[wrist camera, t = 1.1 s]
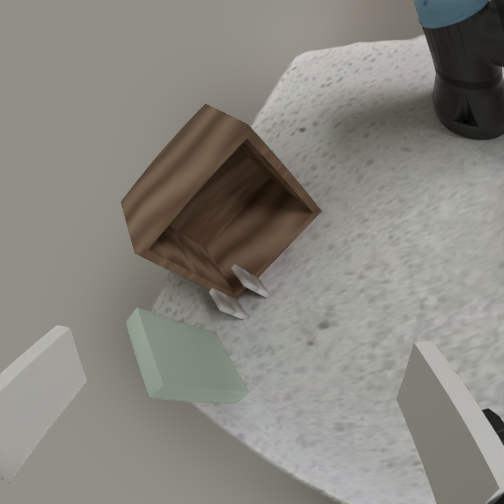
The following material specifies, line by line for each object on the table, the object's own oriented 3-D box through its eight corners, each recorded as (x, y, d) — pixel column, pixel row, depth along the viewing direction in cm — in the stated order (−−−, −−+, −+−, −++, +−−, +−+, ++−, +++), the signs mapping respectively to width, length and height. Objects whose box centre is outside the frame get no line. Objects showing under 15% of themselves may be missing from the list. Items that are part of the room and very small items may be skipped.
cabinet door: (204, 344, 49) (125, 321, 37) (216, 333, 49) (137, 307, 37) (236, 403, 41) (149, 397, 29) (249, 392, 41) (164, 384, 29)
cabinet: (202, 253, 59) (119, 203, 44) (274, 175, 56) (205, 103, 41) (244, 320, 46) (139, 276, 32) (337, 224, 44) (266, 134, 29)
